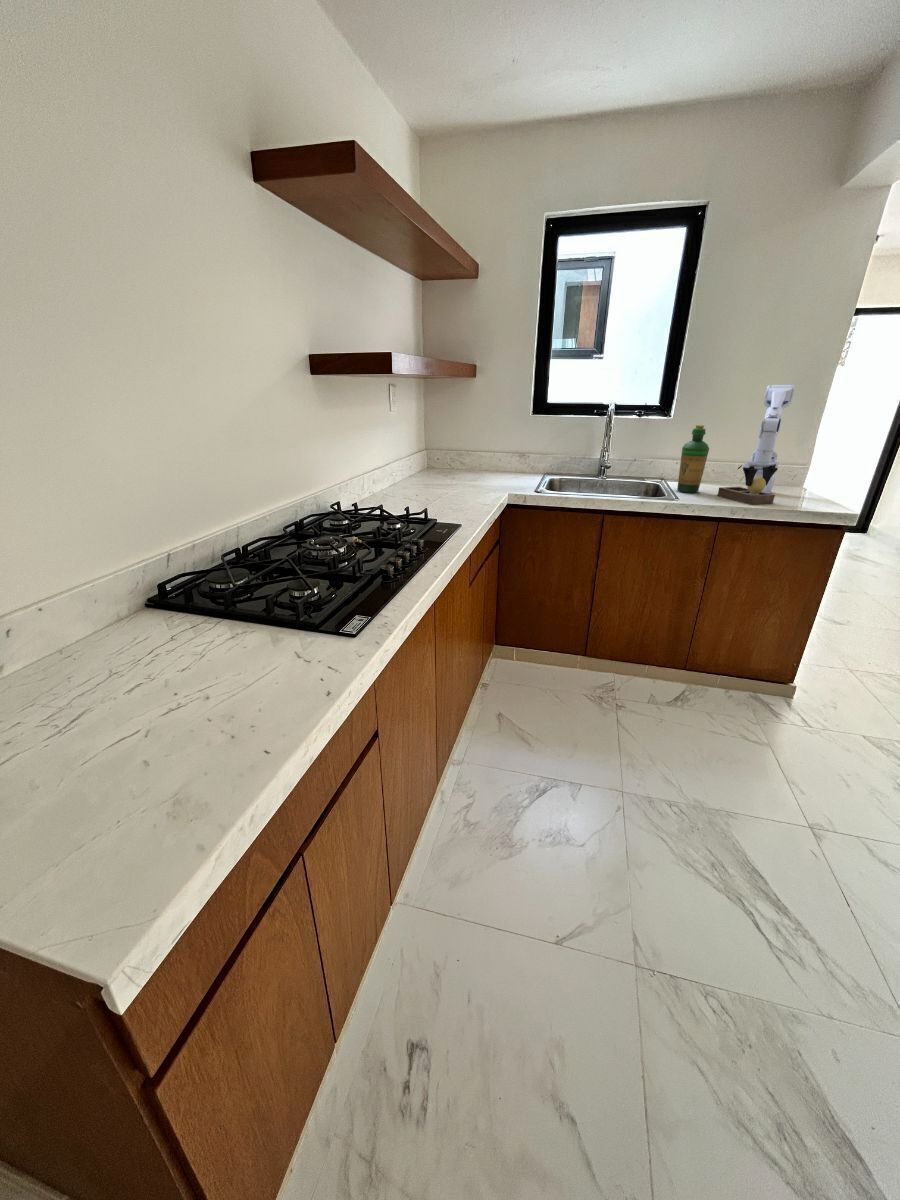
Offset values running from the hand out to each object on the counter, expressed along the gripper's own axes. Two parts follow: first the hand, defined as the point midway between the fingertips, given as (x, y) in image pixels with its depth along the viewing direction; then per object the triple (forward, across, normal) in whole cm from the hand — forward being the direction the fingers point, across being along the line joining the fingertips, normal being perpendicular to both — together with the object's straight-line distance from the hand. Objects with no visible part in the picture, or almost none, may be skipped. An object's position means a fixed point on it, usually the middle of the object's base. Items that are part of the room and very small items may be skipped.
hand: (756, 485), depth 201 cm
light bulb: (+7, 0, 0) cm, 7 cm away
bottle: (+7, -12, +25) cm, 28 cm away
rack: (+6, 0, +4) cm, 8 cm away
